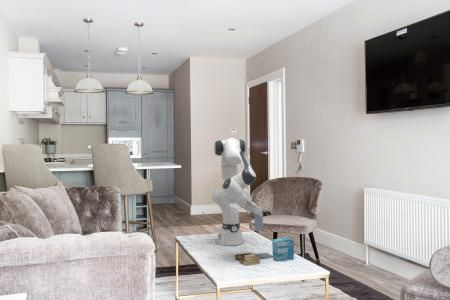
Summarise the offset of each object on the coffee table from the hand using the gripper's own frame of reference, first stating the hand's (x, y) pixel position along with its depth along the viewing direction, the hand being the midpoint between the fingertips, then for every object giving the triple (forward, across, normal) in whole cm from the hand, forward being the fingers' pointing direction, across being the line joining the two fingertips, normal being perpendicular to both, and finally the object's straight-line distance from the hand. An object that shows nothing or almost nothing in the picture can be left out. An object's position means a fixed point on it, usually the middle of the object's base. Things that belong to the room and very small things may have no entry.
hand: (259, 215), depth 274 cm
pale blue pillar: (+6, 0, +6) cm, 8 cm away
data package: (+24, -12, +11) cm, 29 cm away
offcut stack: (+9, -12, +26) cm, 30 cm away
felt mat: (+19, 0, +16) cm, 25 cm away
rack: (+9, -5, +26) cm, 28 cm away
